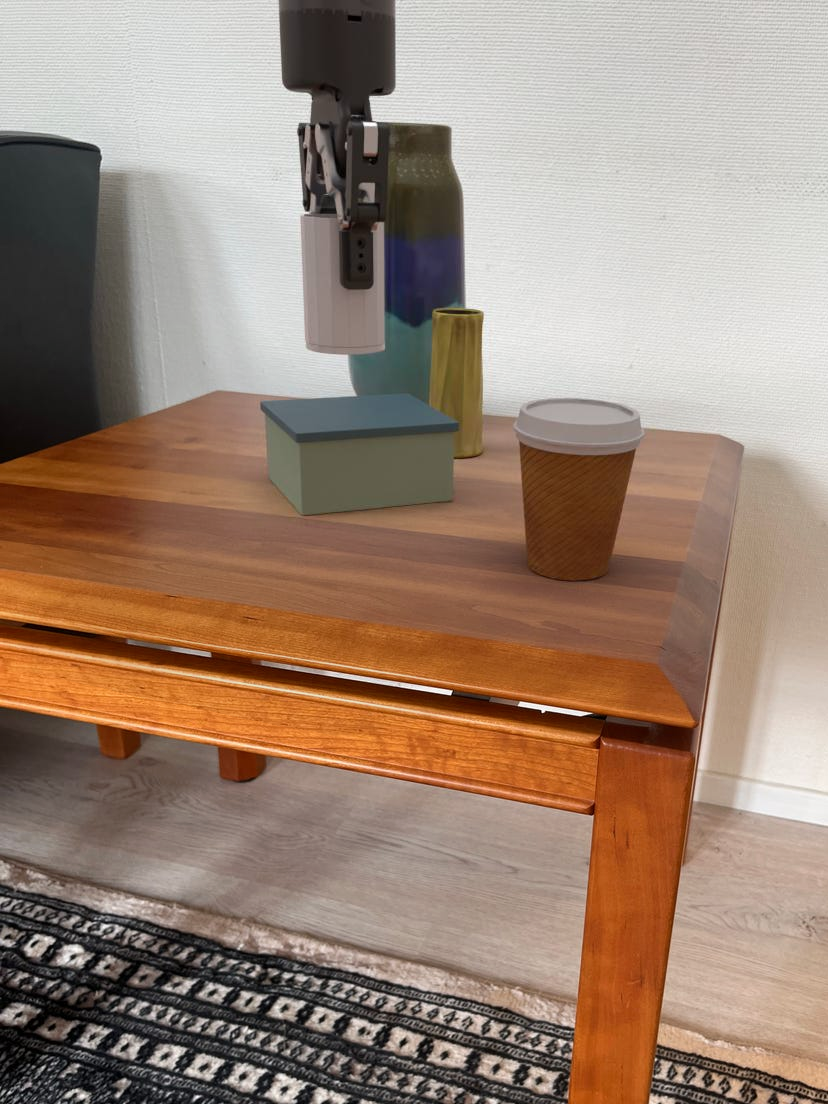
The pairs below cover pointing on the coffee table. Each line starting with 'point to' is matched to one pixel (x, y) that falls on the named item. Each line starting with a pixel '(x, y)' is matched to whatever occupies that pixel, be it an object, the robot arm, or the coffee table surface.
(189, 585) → the coffee table surface
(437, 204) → the vase
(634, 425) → the disposable coffee cup
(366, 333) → the cup
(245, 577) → the coffee table surface
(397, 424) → the container
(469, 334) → the vase
